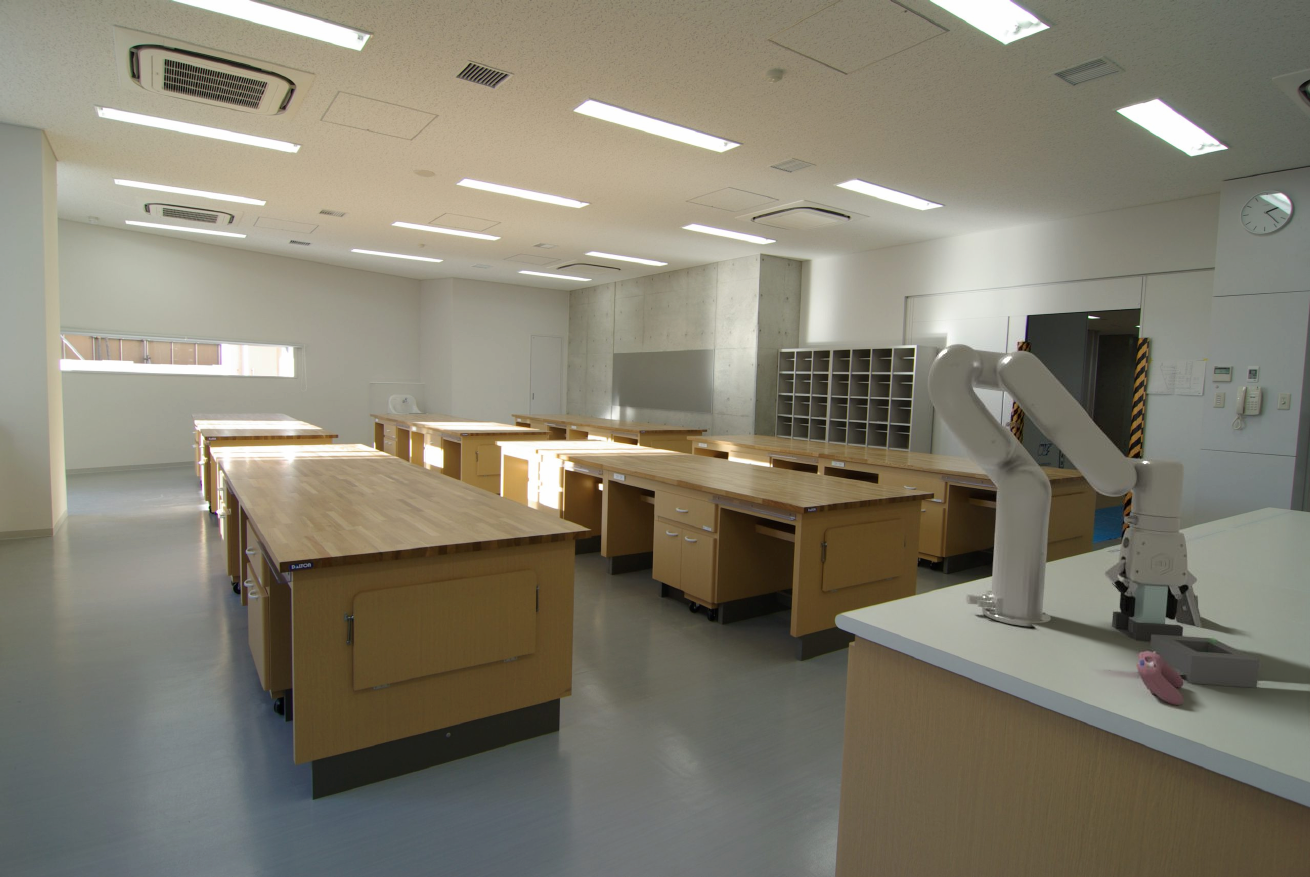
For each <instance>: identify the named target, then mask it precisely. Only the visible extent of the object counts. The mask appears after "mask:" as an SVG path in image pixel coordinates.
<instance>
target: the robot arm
mask: <svg viewBox="0 0 1310 877" xmlns="http://www.w3.org/2000/svg"><path fill="white" fill-rule="evenodd" d="M928 372H929V373H928V376H927V391H928V397H929V399H930V401H931V404H932V405H933V407H934V410H936V412H937V414H938V415H939V417H940V418H941V419H942V421H943V422H944V423H945V425H946V426H947V427H948V429H949V431H950V432H951V433H952V435H953V437H955V439H956V440H957V441H958V442H959V444H960V445H961V446H962V448H963V450H964V451H965V452H966V454H967V456H968V458H970V460H971V461H972V462H973V463H974V464H976V465H977V466H979V467H980V468H981V469H982V470H983V472H984V473H985V474H986V476H987V477H988V478H989V479H990V480H991V482H992V483H993V484H994V486H996V488H997V489H996V501H995V502H996V504H995V505H996V508H995V509H996V510H995V524H994V525H995V526H994V527H995V528H994V543H993V544H994V546H993V547H994V548H993V561H992V577H991V588H990V589H991V590H986V593H985V594H981V595H977V594H967V595H966V597H965V598H966V599H965V600H966V603H967V605H976V606H977V607H980V608H981V613H982V614H983V615H984V616H985V617H987V618H989V619H991V620H994V621H998V622H1001V623H1005V624H1007V625H1009V624H1010V625H1014V626H1019V627H1027V628H1028V627H1030V628H1035V627H1036V626H1034V624H1046V623H1048V622H1050V621H1051V620H1052V618H1051V616H1050V614H1048V613H1046V612H1044V611H1043V609H1044V608H1043V607H1044V596H1045V581H1046V568H1047V567H1046V566H1047V555H1048V554H1047V551H1048V536H1049V534H1048V533H1049V523H1050V522H1049V521H1050V514H1051V505H1052V486H1051V483H1050V480H1049V477H1048V476H1047V474H1046V472H1045V471H1044V470H1043V468H1041V467H1040V465H1039V464H1038V463H1037V461H1035V459H1034V457H1032V456H1031V454H1030V453H1029V452H1028V451H1027V449H1026V448H1025V447H1024V446H1023V444H1022V443H1021V442H1020V440H1019V439H1018V438H1017V437H1016V435H1015V434H1014V433H1013V432H1012V431H1011V430H1010V429H1009V428H1008V427H1006V426H1005V425H1003V424H1001V423H1000V422H999V421H998V420H997V418H996V417H995V416H994V415H993V414H992V413H991V411H990V410H989V409H988V407H987V406H986V404H985V403H984V401H982V399H981V398H980V397H979V396H978V395H977V393H976V392H975V390H974V388H975V389H982V390H989V391H996V392H1004V393H1005V392H1006V393H1007V394H1008V395H1009V397H1011V398H1012V400H1013V401H1014V402H1015V403H1016V405H1018V406H1019V408H1020V409H1021V410H1022V412H1024V414H1025V415H1026V416H1027V417H1028V419H1030V420H1031V422H1032V423H1033V424H1034V426H1035V427H1036V428H1038V431H1040V432H1041V433H1042V434H1043V435H1044V437H1046V438H1047V439H1048V440H1049V441H1051V442H1052V443H1053V444H1054V445H1055V446H1056V447H1057V448H1058V449H1059V450H1060V451H1061V453H1063V454H1064V456H1065V457H1066V458H1067V459H1068V460H1069V461H1070V462H1071V463H1072V465H1073V466H1074V467H1075V468H1076V469H1077V470H1078V472H1080V474H1081V475H1082V476H1083V478H1085V479H1086V481H1087V482H1088V483H1089V484H1090V486H1091V487H1092V488H1093V489H1094V490H1095V491H1096V492H1098V493H1099V494H1101V495H1104V496H1106V497H1107V496H1108V497H1121V496H1123V495H1126V494H1128V493H1129V492H1130V493H1132V494H1131V506H1130V507H1131V508H1130V509H1131V510H1130V513H1129V515H1128V516H1127V515H1126V516H1124V517H1123V522H1124V523H1125V524H1129V525H1128V526H1129V527H1126V529H1125V531H1124V534H1123V537H1122V541H1121V544H1120V551H1119V556H1118V562H1117V563H1115V564H1114V565H1113V566H1111V567H1110V568H1109V569H1108V570H1106V571H1105V572H1104V575H1105V577H1106V578H1107V579H1108V581H1110V582H1111V584H1112V586H1114V587H1115V589H1117V591H1118V593H1120V595H1119V596H1120V597H1119V610H1120V612H1121V613H1123V614H1125V615H1126V616H1128V617H1134V613H1135V600H1136V598H1135V597H1134V596H1132V594H1133V593H1134V591H1135V589H1136V588H1137V586H1138V585H1139V584H1144V585H1160V586H1168V593H1167V606H1166V618H1167V619H1169V620H1172V621H1174V620H1176V617H1175V615H1176V613H1177V602H1178V599H1180V598H1181V597H1182V594H1184V593H1185V592H1186V591H1187V590H1188V589H1189V587H1191V586H1192V587H1193V585H1194V584H1196V582H1197V581H1198V578H1197V577H1196V576H1194V574H1192V572H1190V571H1189V569H1188V548H1187V543H1186V538H1185V534H1184V533H1182V532H1180V528H1181V527H1180V525H1181V514H1182V513H1181V512H1182V500H1183V488H1184V474H1185V467H1184V465H1183V463H1181V462H1180V461H1178V460H1176V459H1175V460H1174V459H1167V458H1165V459H1164V458H1153V457H1152V458H1147V457H1146V458H1135V457H1128V456H1127V457H1126V456H1125V455H1124V453H1123V452H1121V450H1120V449H1119V448H1118V447H1117V446H1116V445H1115V444H1114V443H1113V441H1112V440H1111V439H1110V438H1109V437H1108V436H1107V435H1106V434H1105V433H1104V432H1103V430H1101V428H1100V427H1099V426H1098V425H1097V424H1096V423H1095V422H1094V420H1093V419H1092V418H1091V417H1090V416H1089V414H1088V413H1087V412H1086V410H1085V409H1084V407H1083V406H1082V405H1081V404H1080V403H1079V402H1078V401H1077V400H1076V399H1075V397H1074V396H1073V395H1072V394H1071V393H1070V392H1069V391H1068V390H1067V389H1066V388H1065V386H1063V384H1062V383H1061V382H1060V381H1059V379H1057V378H1056V376H1054V374H1053V373H1052V372H1051V371H1050V370H1049V369H1048V367H1046V365H1044V363H1043V362H1042V361H1041V360H1040V359H1039V358H1038V357H1037V356H1036V355H1035V354H1033V353H1032V352H1029V351H1026V350H1016V351H1013V352H1010V353H1009V352H1000V351H999V352H997V351H989V350H988V351H987V350H981V349H974V348H973V347H971V346H969V345H966V344H964V343H963V344H962V343H961V344H960V343H956V344H951V345H948V346H946V347H945V348H943V349H942V350H941V351H939V353H937V355H936V356H935V358H934V359H933V362H932V364H931V366H930V369H929V371H928ZM1119 577H1120V578H1123V579H1122V581H1121V580H1120V578H1119Z"/></svg>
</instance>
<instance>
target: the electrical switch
mask: <svg viewBox="0 0 1310 877" xmlns="http://www.w3.org/2000/svg"><path fill="white" fill-rule="evenodd" d="M1175 620H1176V623H1180V624H1184V625H1190V626H1194V627H1195V628H1202V627H1203V626H1202V625H1203V624H1202V617H1201V613H1200V609H1199V596H1198V595H1195V591H1194V588H1193V585H1192V586H1191V587H1189V589H1188V590H1187V591H1186V592H1185V593H1184V594H1182V597H1181V598H1180V599H1178V602H1177V613H1176V615H1175Z"/></svg>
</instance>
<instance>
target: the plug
mask: <svg viewBox="0 0 1310 877" xmlns="http://www.w3.org/2000/svg"><path fill="white" fill-rule="evenodd" d="M1167 593H1168V586H1160V585H1144V584H1139V585H1138V586H1137V588H1136V589H1135V591H1134V593H1133V594H1132V596H1134V597H1135V598H1136V600H1135V613H1134V617H1129V621H1128V630H1129V631H1130V632H1133V622H1139V623H1155V624H1166V618H1167V617H1166V606H1167Z"/></svg>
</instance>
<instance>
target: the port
mask: <svg viewBox="0 0 1310 877" xmlns="http://www.w3.org/2000/svg"><path fill="white" fill-rule="evenodd" d="M1149 647H1150V648H1149V651H1150V652H1154V651H1156V654H1158V655H1160V656H1161V657H1162V659H1163V660H1164V661H1165V662H1166V663H1167V664H1168V665H1169V666H1170V667H1171V668H1173V669H1174V670H1176V671H1177V672H1180V673H1182V674H1179V673H1178V674H1179V675H1180V676H1181V677H1182V679H1183V681H1186V682H1187V683H1188V684H1194V685H1210V686H1211V685H1212V686H1224V687H1227V686H1228V687H1238V688H1239V687H1241V688H1253V689H1257V688H1258V677H1259V667H1260V666H1259V665H1260V660H1259V659H1257V658H1255V657H1253V656H1251V655H1249V654H1247V653H1244V652H1242V651H1241V650H1238V649H1236V648H1235V647H1232V646H1229V645H1227V644H1226V643H1223V642H1222V641H1219V640H1218V639H1216V638H1214V637H1199V636H1186V635H1185V636H1184V635H1182V636H1170V635H1155V634H1151V642H1150V646H1149Z"/></svg>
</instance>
